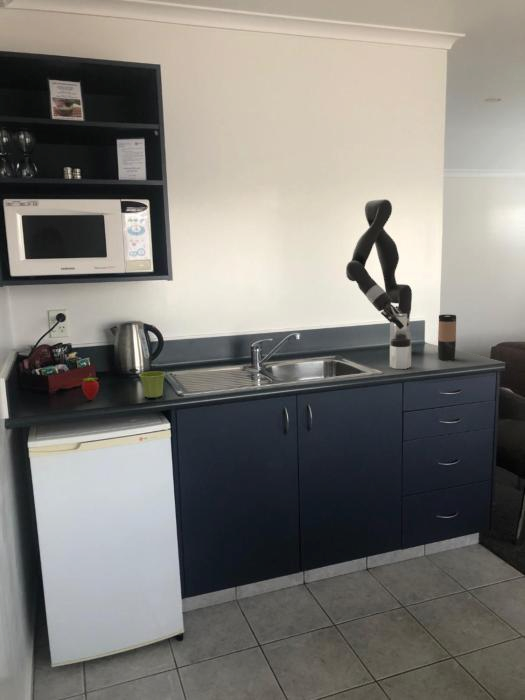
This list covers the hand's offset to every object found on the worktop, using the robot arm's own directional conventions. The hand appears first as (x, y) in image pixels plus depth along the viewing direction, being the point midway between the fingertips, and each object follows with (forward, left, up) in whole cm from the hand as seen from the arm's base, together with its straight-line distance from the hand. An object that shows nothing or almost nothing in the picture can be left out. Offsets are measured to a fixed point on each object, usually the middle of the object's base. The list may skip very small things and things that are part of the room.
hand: (404, 326), depth 238 cm
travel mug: (-27, -5, -18) cm, 33 cm away
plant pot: (+107, -7, -18) cm, 109 cm away
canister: (+1, -2, -5) cm, 5 cm away
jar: (+1, -2, -18) cm, 18 cm away
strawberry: (+128, -14, -18) cm, 130 cm away
